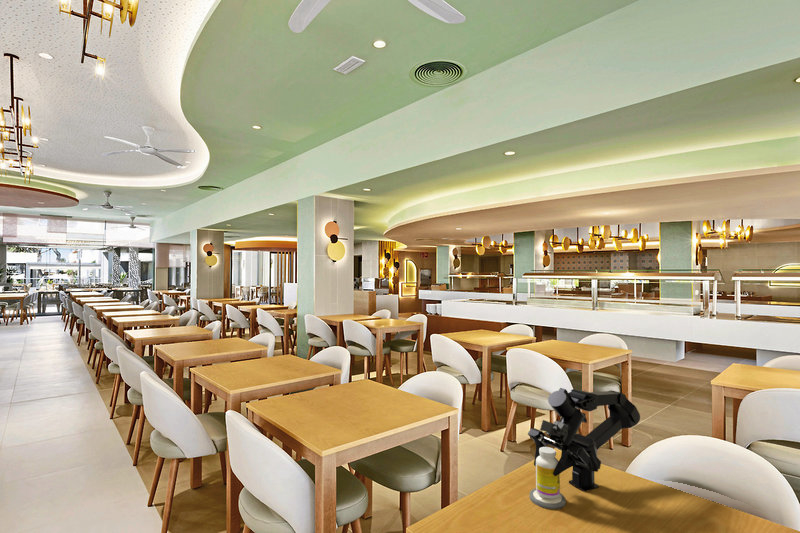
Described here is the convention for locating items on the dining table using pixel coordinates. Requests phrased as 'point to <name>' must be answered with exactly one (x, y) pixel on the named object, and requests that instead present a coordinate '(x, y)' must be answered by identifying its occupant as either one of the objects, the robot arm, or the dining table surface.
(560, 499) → the push button
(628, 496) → the dining table surface
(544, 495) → the supplement bottle
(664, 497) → the dining table surface
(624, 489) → the dining table surface
